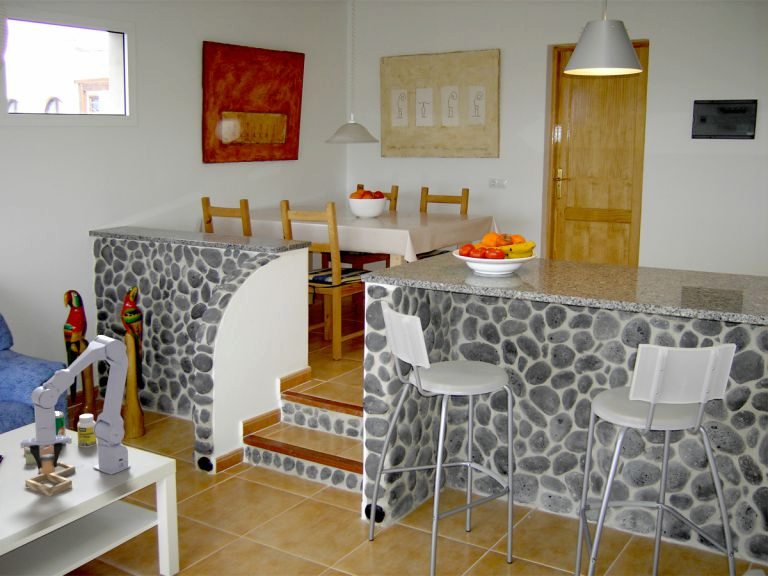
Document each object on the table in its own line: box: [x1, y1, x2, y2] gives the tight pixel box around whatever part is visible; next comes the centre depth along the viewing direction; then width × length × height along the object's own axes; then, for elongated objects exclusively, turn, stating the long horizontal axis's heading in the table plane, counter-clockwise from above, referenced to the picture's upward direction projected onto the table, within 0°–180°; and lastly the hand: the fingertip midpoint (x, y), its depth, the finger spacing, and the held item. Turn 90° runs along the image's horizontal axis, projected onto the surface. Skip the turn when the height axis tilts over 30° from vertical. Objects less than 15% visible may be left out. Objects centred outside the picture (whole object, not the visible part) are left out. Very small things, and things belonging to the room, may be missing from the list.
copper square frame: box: [23, 445, 54, 457], centre depth 281 cm, size 7×7×3 cm
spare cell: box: [24, 448, 37, 466], centre depth 273 cm, size 4×4×5 cm
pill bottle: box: [77, 413, 97, 448], centre depth 290 cm, size 6×6×11 cm
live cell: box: [40, 453, 55, 474], centre depth 256 cm, size 4×4×5 cm
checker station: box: [24, 460, 76, 497], centre depth 261 cm, size 17×16×2 cm
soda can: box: [53, 410, 67, 446], centre depth 289 cm, size 5×5×12 cm
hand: (47, 467), depth 255 cm, fingers closed on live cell, 4 cm apart
